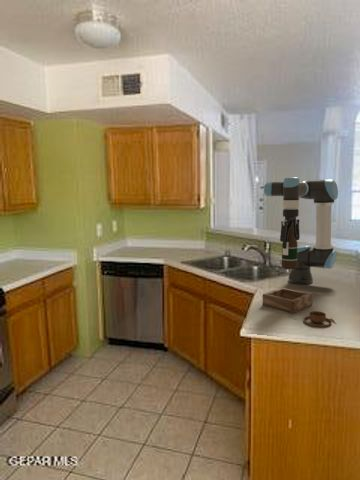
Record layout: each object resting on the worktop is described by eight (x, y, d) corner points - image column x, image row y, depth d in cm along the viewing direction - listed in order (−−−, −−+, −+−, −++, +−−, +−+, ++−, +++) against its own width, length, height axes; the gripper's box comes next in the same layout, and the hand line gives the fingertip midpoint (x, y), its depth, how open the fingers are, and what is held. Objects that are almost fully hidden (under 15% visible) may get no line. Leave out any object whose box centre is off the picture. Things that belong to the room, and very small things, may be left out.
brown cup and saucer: (302, 329, 163) (302, 316, 162) (287, 314, 183) (287, 302, 182) (342, 328, 164) (342, 315, 163) (322, 313, 184) (323, 301, 183)
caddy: (281, 298, 208) (281, 287, 207) (312, 305, 195) (312, 293, 194) (262, 305, 195) (262, 294, 195) (294, 313, 182) (294, 301, 182)
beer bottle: (279, 266, 196) (280, 220, 193) (294, 266, 196) (296, 220, 193) (283, 269, 188) (284, 221, 185) (299, 269, 188) (300, 221, 185)
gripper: (294, 207, 198) (293, 250, 201) (272, 209, 184) (272, 255, 187) (307, 207, 193) (306, 251, 196) (286, 210, 178) (285, 257, 181)
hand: (289, 253), depth 191 cm, fingers closed on beer bottle, 8 cm apart
